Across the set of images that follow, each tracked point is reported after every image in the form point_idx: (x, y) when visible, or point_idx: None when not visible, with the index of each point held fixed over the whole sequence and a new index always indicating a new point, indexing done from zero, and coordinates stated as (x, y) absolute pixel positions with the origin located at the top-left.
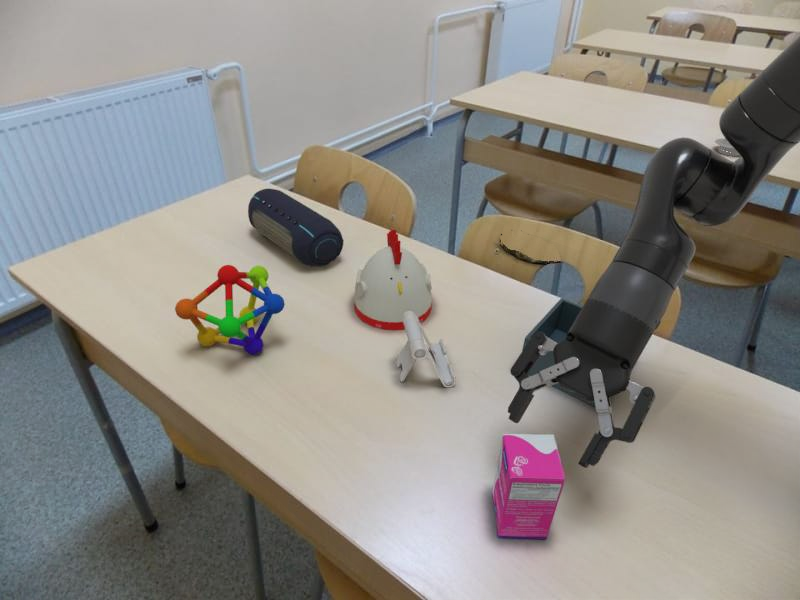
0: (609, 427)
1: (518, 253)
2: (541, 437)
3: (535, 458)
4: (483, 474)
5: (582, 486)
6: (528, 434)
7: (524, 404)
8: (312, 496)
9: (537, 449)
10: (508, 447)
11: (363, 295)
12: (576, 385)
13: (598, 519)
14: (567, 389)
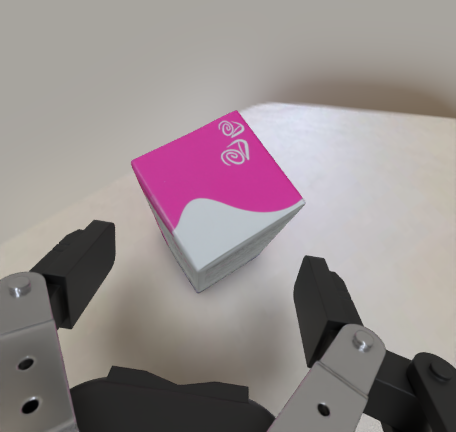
0: (4, 297)
1: None
2: (221, 242)
3: (210, 174)
4: (286, 279)
5: (137, 360)
6: (254, 234)
7: (313, 299)
8: (435, 124)
9: (215, 200)
10: (276, 172)
11: None
12: (173, 414)
13: (99, 310)
14: (209, 384)
